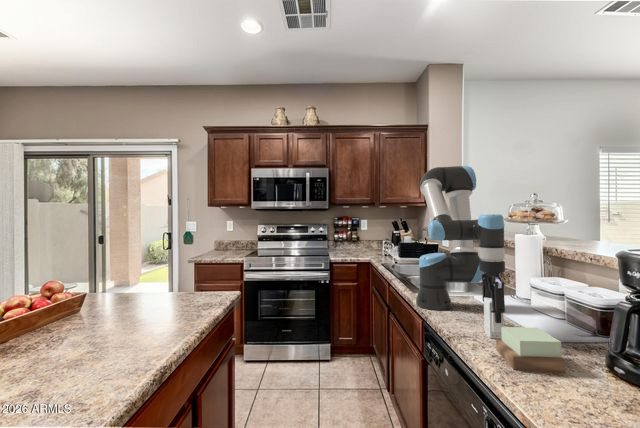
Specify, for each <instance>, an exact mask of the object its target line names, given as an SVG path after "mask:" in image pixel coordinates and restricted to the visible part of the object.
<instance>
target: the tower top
mask: <svg viewBox="0 0 640 428" xmlns="http://www.w3.org/2000/svg"><path fill="white" fill-rule="evenodd" d="M501 332H502V341H503V342H504V343H505V344H506V345H508V346H509V347H510V348H511V349H512V350H514V351H515V352H516V353H517V354H518V355H520V356H533V357H562V341H560V340H558V339H557V338H555V337H554V336H552V335H550V334H549V333H547V332H545V331H544V330H542V329H541V328H539V327H517V326H515V327H514V326H513V327H511V326H503V327H501Z"/></svg>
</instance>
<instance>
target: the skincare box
mask: <svg viewBox="0 0 640 428" xmlns="http://www.w3.org/2000/svg"><path fill="white" fill-rule="evenodd" d="M491 311H493V305H492V298H484V302H483V321H484V324H483V325H484V328H483V329H484V332H485V334H486V335H487V336H488V337H489V338H490V339H496V338H500V339H502V333H497V332H493V331H492V313H491ZM502 327H504V313H502Z"/></svg>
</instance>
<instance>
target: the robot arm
mask: <svg viewBox="0 0 640 428" xmlns="http://www.w3.org/2000/svg"><path fill="white" fill-rule="evenodd" d="M476 188H477V176H476V172H475V171H474V169H473V167H471V166H468V165H459V166H457V165H456V166H438V167H437V166H436V167H432V168H431V169H429V170H428V171H426V172H425V173H424V174H423V176H422V177H421V179H420V182H419V191H420V193H421V194H422V195H423V196H424V200H425V202H426V206H427V210H428V213H429V217H430V221H428V225H427V232H428V234H427V235H428V237H429V239H430V240H432V241H440V242H442V241H452V249H451V250H450V251H449V256H447V254H446V253H444V252H433V253H427V254H423V255H420V257H419V259H418V260H419V261H418V268H419V270H418V272H419V273H418V275H419V276H418V278H419V289H418V292H417V295H416V298H415V305H416V307H420V308H421V309H426V310H430V311H431V310H432V311H444V310H449V309H452V300H451V297H450V294H449V291H448V287H447V286H448V285H447V284H448V283H450V284H451V283H455V284H456V283H457V284H458V283H459V284H471V283H474V284H477V283H480V282H481V281H482V302H483V303H484V298H492V305H493V311H491V313H492V331H493V332H497V333H502V332H501V327H502V313H503V314H504V313H506V307H505V282H504V281H502V279H501V277H500V274H502V273H505V272H506V262H505V261H504V260H505V256H506V255H505V253H506V252H507V251H506V249H505V222H504V216H503V215H502V214H480V215H478V218H477V219H472V215H471V214H472V213H471V204H470V203H471V202H470V197H471V195H473V191H475V190H476ZM443 192H444V193H445V196H444V194H443ZM445 197H446V198H448V199H449V207H448V204H447V202H446V199H445ZM474 241H478V250H476V249H475V247H474V245H475V244H474Z"/></svg>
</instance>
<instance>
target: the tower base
mask: <svg viewBox="0 0 640 428" xmlns="http://www.w3.org/2000/svg"><path fill="white" fill-rule="evenodd" d="M495 346H496V347H495V349H496V352H497V353H498V354H499V355H500V356H501V357H502V358H503V359H504V361H505V362H506V363H507V364H508V365H509V366H510V368H512V370H513V371H518V372H520V371H523V372H537V373H550V374H566V372H567V371H566V359H565V358H564V357H563V356H561V357H533V356H520V355H518V354H517V353H516V352H515V351H514V350H512V349H511V348H510V347H509V346H508V345H506V344H505V343H504V342H503V341H502V339H500V338H495Z"/></svg>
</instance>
